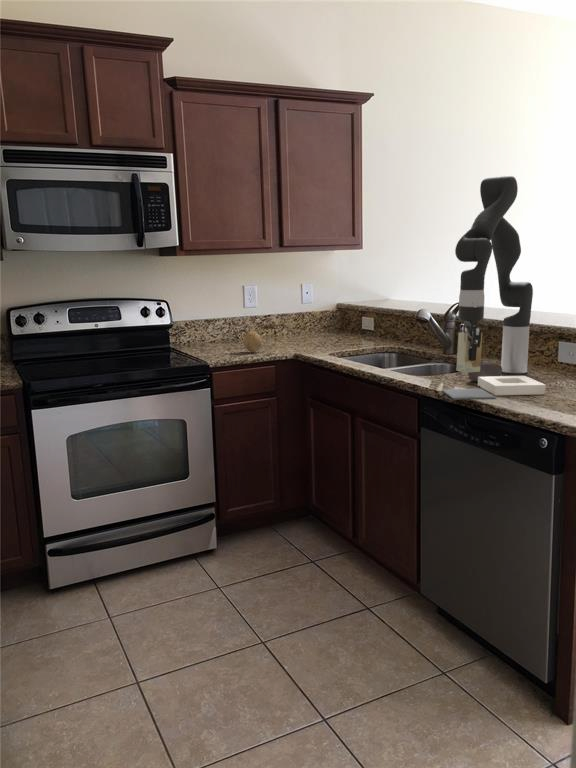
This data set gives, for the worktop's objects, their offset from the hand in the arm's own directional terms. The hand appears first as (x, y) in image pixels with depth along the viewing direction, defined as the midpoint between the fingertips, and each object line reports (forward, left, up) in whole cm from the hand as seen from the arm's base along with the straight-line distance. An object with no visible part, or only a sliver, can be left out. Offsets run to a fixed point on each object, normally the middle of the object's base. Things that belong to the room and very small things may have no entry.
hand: (469, 358), depth 203 cm
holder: (-6, +16, -11) cm, 21 cm away
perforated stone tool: (-22, +13, -12) cm, 28 cm away
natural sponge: (-102, -68, -12) cm, 123 cm away
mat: (0, 0, -11) cm, 11 cm away
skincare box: (0, 0, -4) cm, 4 cm away
